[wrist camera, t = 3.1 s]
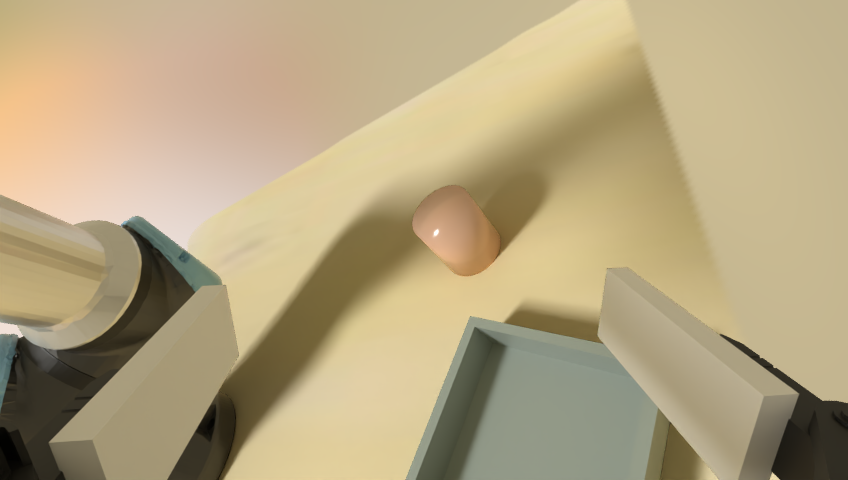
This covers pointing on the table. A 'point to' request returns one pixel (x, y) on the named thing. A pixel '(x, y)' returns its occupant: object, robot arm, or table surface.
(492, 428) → the bin
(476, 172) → the table surface
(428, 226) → the peach rounded cylinder
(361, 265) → the table surface
